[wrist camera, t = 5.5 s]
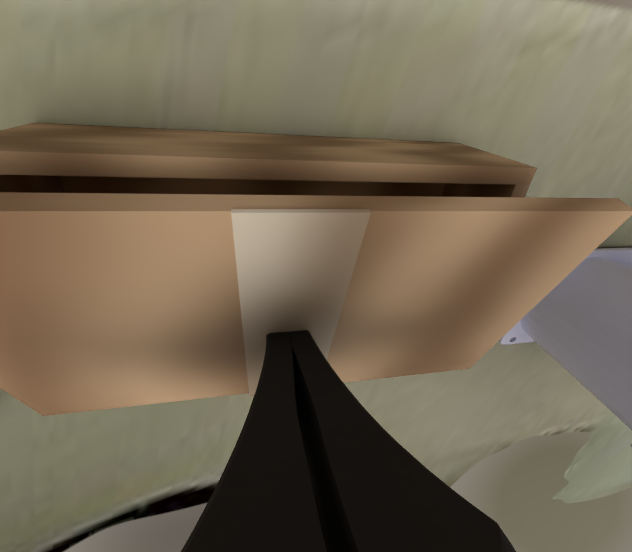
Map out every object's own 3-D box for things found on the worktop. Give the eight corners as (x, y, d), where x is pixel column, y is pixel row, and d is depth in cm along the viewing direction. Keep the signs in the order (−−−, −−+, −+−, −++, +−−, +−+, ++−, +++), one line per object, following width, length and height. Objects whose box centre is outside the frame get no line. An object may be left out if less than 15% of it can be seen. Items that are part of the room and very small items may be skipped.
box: (458, 143, 15) (536, 168, 11) (414, 292, 20) (458, 349, 16) (34, 122, 12) (-80, 148, 8) (103, 310, 17) (56, 388, 12)
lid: (619, 196, 9) (640, 212, 8) (463, 358, 16) (469, 371, 15) (-238, 187, 5) (-284, 213, 5) (50, 400, 12) (42, 419, 12)
